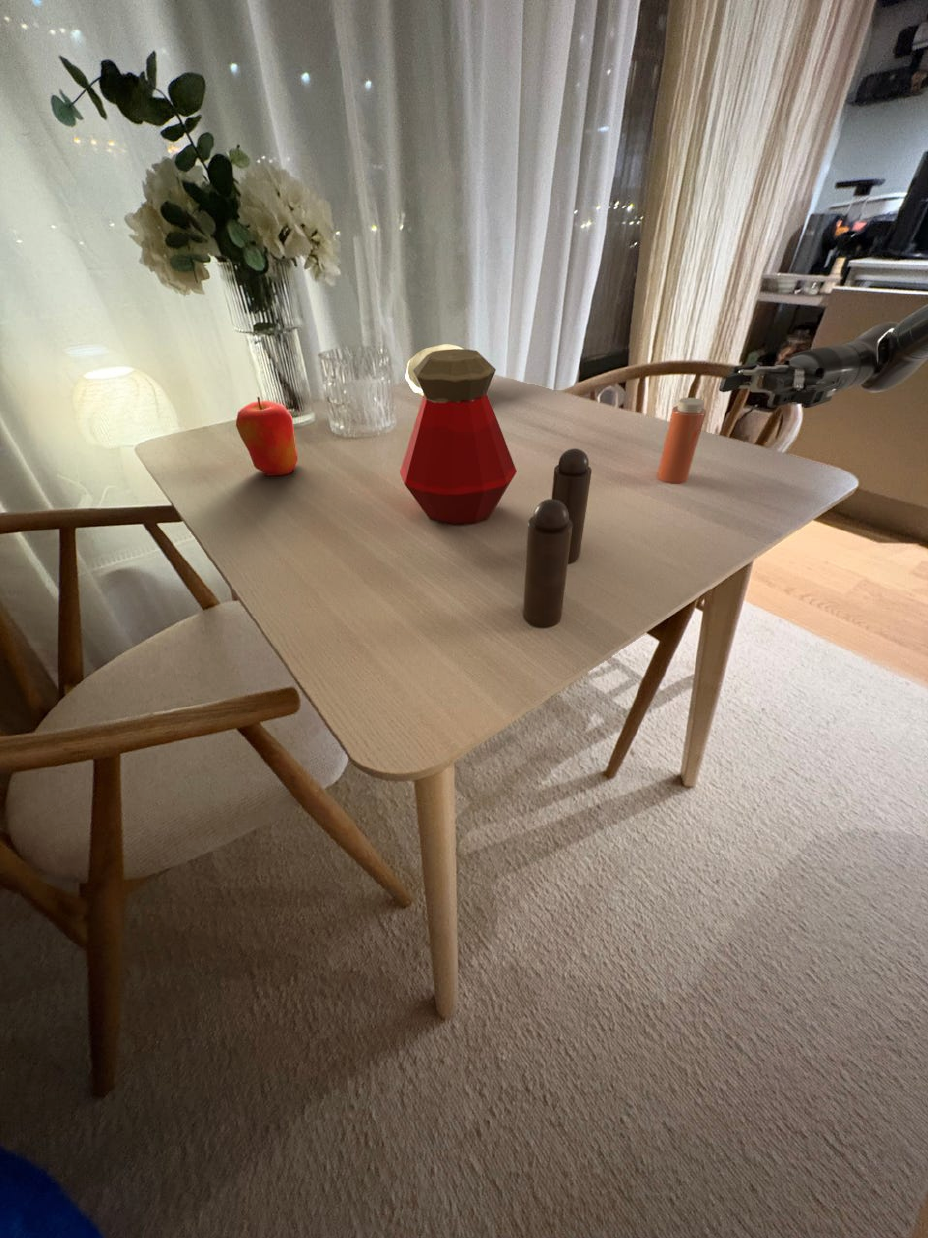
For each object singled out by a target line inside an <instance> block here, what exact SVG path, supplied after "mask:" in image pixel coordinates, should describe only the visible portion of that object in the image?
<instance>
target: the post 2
mask: <svg viewBox="0 0 928 1238" xmlns="http://www.w3.org/2000/svg"><path fill="white" fill-rule="evenodd" d="M592 472H593V471H592V468H591V467H590V461H589V457H588V455H587V454H586V452H585V451H583V450H582V449H580V448H575V447H574V448H568V449H567V450H565V451H564V452H563V453H562V454H561V455H560V457H559V460H558V464H557V465H555V466H554V469H553V477H552V487H551V488H552V489H551V499H555V500H558V501H560V502H562V503H563V504H564V505H565V506H566V508H567V510H568V513H569V519H570V520H571V521H572V524H573V526H572V534H571V542H570V550H569V558H568V564H569V565H570V564H573V563H576V562H577V561H579V559H580V556H581V548H582V541H583V534H584V528H585V520H586V513H587V506H588V500H589V492H590V486H591V485H590V484H591V480H592Z"/></svg>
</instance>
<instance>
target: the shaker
mask: <svg viewBox="0 0 928 1238" xmlns="http://www.w3.org/2000/svg"><path fill="white" fill-rule="evenodd" d="M704 403H705V402H704V400H702V399H700V398H697V397H683V398H680V399H679V400H678V404H677V405H676V406H674V407H672V409H671V410H672V411H671V414H670V418H669V423H668V428H667V431H666V436H665V439H664V444H663V449H662V452H661V457H660V461H659V465H658V470H657V474H656V477H657V479H659V480H660V481H662V482H665V483H667V484H682V483H685V482H686V481H688V478H689V475H690V471H691V468H692V464H693V460H694V457H695V453H696V449H697V447H698V442H699V438H700V435H701V431H702V428H703V424H704V420H705V417H706V413H707V411H706V409H704Z"/></svg>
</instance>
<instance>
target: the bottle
mask: <svg viewBox="0 0 928 1238" xmlns="http://www.w3.org/2000/svg"><path fill="white" fill-rule="evenodd" d="M496 370H497V369H496V368H495V367H494V366H493V365H492V364H491V363H490V362H489V361H488V360H487V359H486V358H485V357H484V356H483V355H482V354H481V353H480V352H479V351H477V350H473V349H466V348H465V349H464V348H462V349H449V350H440V351H434V352H431V353H430V354H428V355H427V356H426V357H425V358H424V359H423V360H422V361H421V362H420V363H419V365H418V366H417V367H416V368H415V369H414V370H413V372H414V374H415V376H416V379H417V381H418V383H419V385H420V387H421V389H422V391H423V393H424V395H423V396H422V398H421V402H420V406H419V408H418V412H417V414H416V418H415V422H414V424H413V429H412V431H411V435H410V438H409V441H408V444H407V448H406V451H405V454H404V457H403V461H402V464H401V467H400V470H399V472H400V476H401V479H402V482H403V483H404V484H403V485H404V486H405V487H406V489H407V491H409V493H410V495H411V496H412V497H413V498H414V500H415V501H416V503H417V504H418V505H419V507H420V509H422V511H423V512H424V514H425V515H426V516H427V517H428V519H429V520H430V521H433V522H436V523H438V524H440V525H449V526H456V527H459V526H467V525H475V524H478V523H481V522H484V521H488V519H489V518H490V516H491V515H492V514H493V512H494V510H495V509H496V507H497V506H498V503H500V500H501V499H502V497H503V496H504V494H505V493H506V490H507V489H508V488H509V486H510V484H511V482H512V480H513V479H514V477H515V475H516V474H517V468H516V466H515V465H516V464H515V463H514V461H513V458H512V455H511V452H510V450H509V447H508V445H507V441H506V439H505V437H504V435H503V432H502V430H501V429H502V428H501V426H500V424H499V421H498V418H497V416H496V413H495V411H494V408H493V405H492V403H491V401H490V398H489V395H488V392H489V389H490V386H491V384H492V381H493V379H494V376H495V373H496Z"/></svg>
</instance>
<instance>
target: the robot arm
mask: <svg viewBox="0 0 928 1238" xmlns="http://www.w3.org/2000/svg"><path fill="white" fill-rule="evenodd" d="M927 360H928V303H927V304H925V305H923V306H922V307H920V308H919V309H917V310H915V311H914V312H913V313H911V314H910V315H908V316H906V317H905V318H903V319H902V320H901V321H900V322H898V321H897V322H896V321H884V322H882V323H879V324H876V325H874V326H873V327H871V328H869V329H867V330H866V331H864V332H863V333H861V334H860V335H858V336H857V337H856V338H855V339H854V340H852V341H849V342H846V343H842V344H830V345H824V346H820V347H816V348H811V349H807V350H803V351H799V352H796V353H794V354H792V355H791V356H789V357H788V358H787V359H786V360H785V361H784V362H783V363H782V364H776V365H774V366H763V365H764V364H763V363H762V362H761V361H757V362H756V361H755V362H751V363H746V364H745V363H744V364H741V365H735V366H731V369H730V373H729V374H728V375H724V376H722V377H721V380H720V383H719V387H718V391H719V392H721V393H728V392H732V391H736V390H739V389H743V390H745V389H748V390H749V392H751V393H768V395H770V396H769V398H768V401H767V404H766V406H767V407H768V408H772V409H774V408H777V407H782V406H785V405H789V406H797V405H801V407H802V408H804V409H811V408H813V407H816V406H819V405H823V404H825V403H828V402H831V400H832V398H833V395H835V394H837V393H840V392H843V391H846V390H850V389H854V388H857V387H859V386H860V388H861V389H862V390H864V391H865V392H868V393H873V394H875V393H883V392H885V391H888V390H891V389H893V388H895V387H896V386H898V385H900V384H901V383H903V382H905V380H907V379H908V378H909V377H911V376H912V375H913V374H914V373H915V372H916V371H917V370H918V369H919V368H920V367H921V366H922V365H923V364H924V363H925V362H926V361H927ZM761 378H762V380H761V386H760V385H759V386H758V383H759V380H760V379H761Z"/></svg>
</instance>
